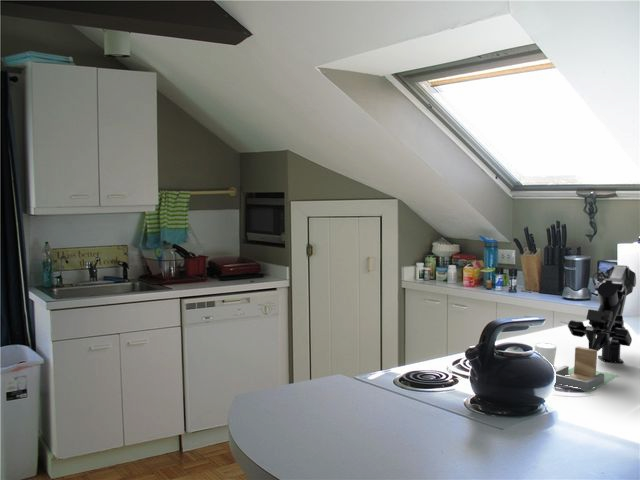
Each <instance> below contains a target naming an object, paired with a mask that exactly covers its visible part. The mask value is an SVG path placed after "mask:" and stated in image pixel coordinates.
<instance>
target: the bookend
mask: <svg viewBox="0 0 640 480" xmlns="http://www.w3.org/2000/svg"><path fill="white" fill-rule="evenodd" d="M574 350H575V351H574V364H573V365H574V366H573V367H574V374H572V375H570V376H567V377H571V378H575V379H580V380H584V381H586V380H588V379H590V378H592V377H594V376H596V371H597V359H598V351H597V350H594V349H589V347H583V346H576V347H574Z"/></svg>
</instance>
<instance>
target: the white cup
mask: <svg viewBox="0 0 640 480" xmlns="http://www.w3.org/2000/svg"><path fill="white" fill-rule="evenodd" d="M535 351H537V352H538V353H540V354H541V355H542V356H544V357H545V358H546V359H547V360H548V361H549V362H550V363H551V364H552V365H553V366H554V365H555V360H556V353H557V345H556V344H552V343H548V342H538V343H534V352H535Z"/></svg>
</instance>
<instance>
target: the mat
mask: <svg viewBox="0 0 640 480" xmlns="http://www.w3.org/2000/svg"><path fill="white" fill-rule="evenodd" d="M600 373H602V374H604V382H603V383H601V384H600V385H598V386H596V387H595V388H594V389H590V390H588V391H585V390H583V391H584V392H586V393H591V392H592V391H594V390H597V389H598V388H599V387H601V386H603V385H605V384H607V383H609V382H611V381H613V380H615V379H617V378H618V377H619V375H618V374H614V373H608V372H603V371H598V370H596V375H598V374H600ZM572 374H574V366H573V367H571V368H569V370H568V374H567V375H572ZM556 385H557V386H560V385H559V384H556Z"/></svg>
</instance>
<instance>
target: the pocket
mask: <svg viewBox="0 0 640 480" xmlns="http://www.w3.org/2000/svg"><path fill="white" fill-rule="evenodd" d="M569 369H570V368H569V365H563V366H561V367H559V368H557V369H554V370H555V372H556V384H555V385H557V384H562V385H568V386H573V387H578V388H581V389H583V390H585V391H584V392H586V391H588V390H590V389H592V388H593V387H596V386H598V385H600V384H601V383H603V382H604V374H602V373H600V374H598V375H596V376H594V377H592V378H590V379H588V380H586V381H584V380H580V379H575V378H571V377H567V376H565V375H567V374H568V370H569Z"/></svg>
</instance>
